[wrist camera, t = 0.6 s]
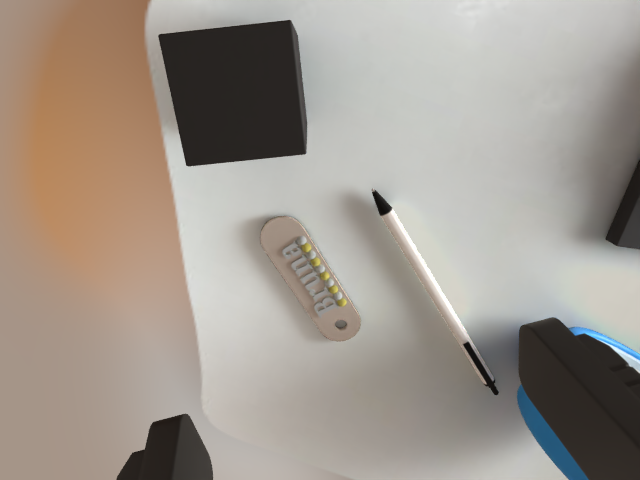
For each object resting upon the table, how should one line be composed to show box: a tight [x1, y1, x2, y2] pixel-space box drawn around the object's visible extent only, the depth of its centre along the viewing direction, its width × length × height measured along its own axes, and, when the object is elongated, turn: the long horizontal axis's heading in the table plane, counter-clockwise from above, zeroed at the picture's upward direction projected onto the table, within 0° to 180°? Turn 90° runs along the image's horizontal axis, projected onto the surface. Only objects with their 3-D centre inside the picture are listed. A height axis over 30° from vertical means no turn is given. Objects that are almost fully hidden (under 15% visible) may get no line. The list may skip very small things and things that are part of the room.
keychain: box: [260, 216, 361, 342], centre depth 30 cm, size 10×1×3 cm
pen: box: [372, 189, 499, 395], centre depth 31 cm, size 1×19×1 cm, turn 33°
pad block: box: [159, 20, 307, 166], centre depth 21 cm, size 5×5×9 cm
